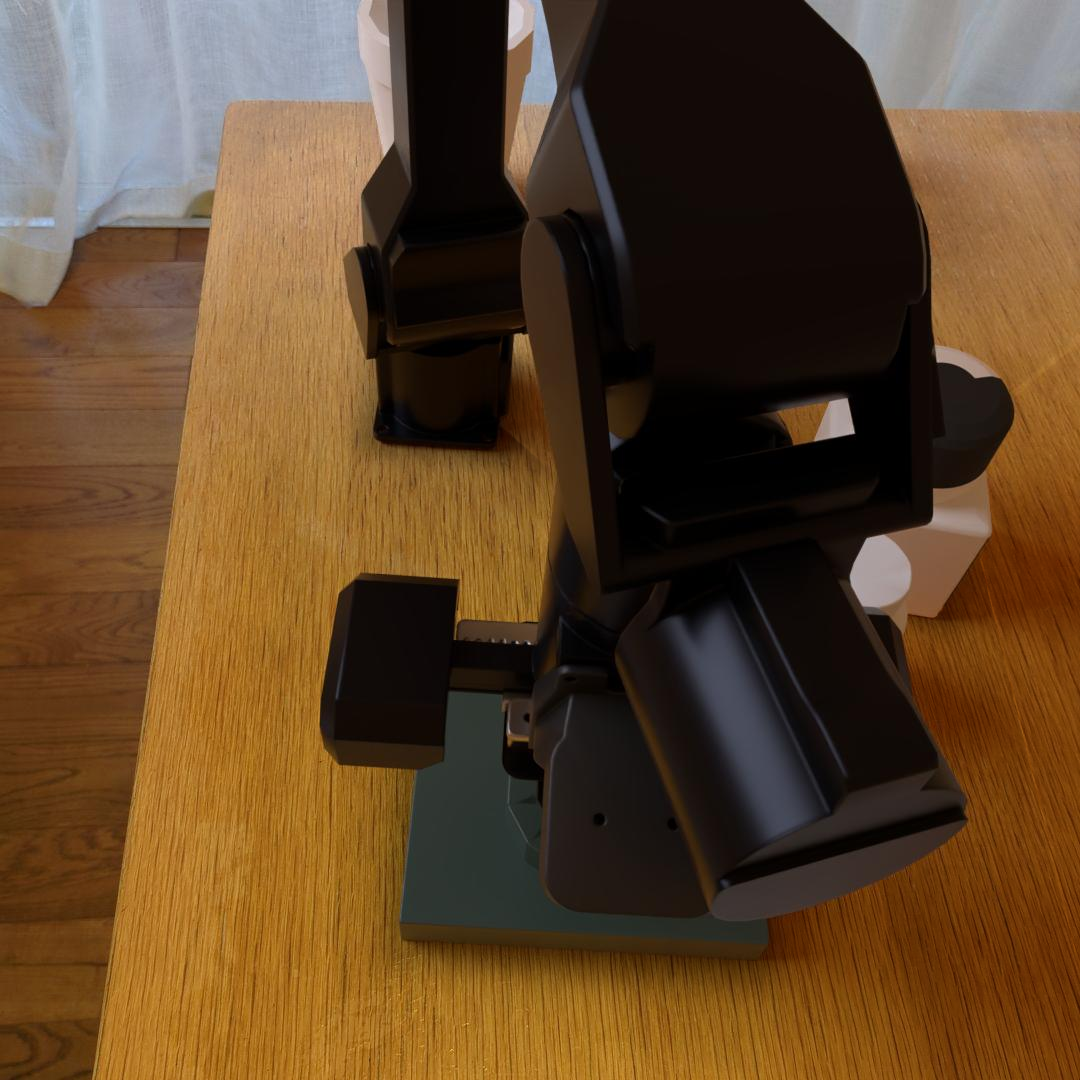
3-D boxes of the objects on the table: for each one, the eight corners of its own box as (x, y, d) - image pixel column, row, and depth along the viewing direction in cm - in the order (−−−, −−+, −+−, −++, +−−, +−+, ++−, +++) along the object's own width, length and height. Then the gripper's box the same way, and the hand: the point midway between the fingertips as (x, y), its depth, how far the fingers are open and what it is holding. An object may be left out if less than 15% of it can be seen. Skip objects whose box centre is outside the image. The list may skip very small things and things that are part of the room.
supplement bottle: (856, 750, 50) (933, 636, 42) (736, 724, 50) (790, 607, 42) (860, 648, 53) (932, 525, 45) (747, 625, 53) (799, 498, 45)
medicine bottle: (937, 621, 54) (1044, 461, 44) (790, 596, 54) (865, 432, 45) (929, 507, 58) (1026, 338, 49) (793, 485, 58) (862, 312, 49)
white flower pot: (382, 162, 72) (371, -40, 62) (525, 173, 73) (538, -26, 62) (363, 257, 67) (347, 53, 56) (517, 270, 67) (530, 69, 57)
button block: (400, 940, 43) (396, 906, 40) (425, 710, 49) (424, 665, 46) (756, 961, 44) (781, 929, 41) (739, 730, 50) (759, 687, 47)
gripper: (255, 810, 26) (318, 990, 38) (1052, 858, 26) (856, 1019, 39) (327, 445, 32) (361, 700, 45) (963, 490, 33) (820, 730, 45)
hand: (591, 786), depth 43 cm, fingers closed, pressing on button
